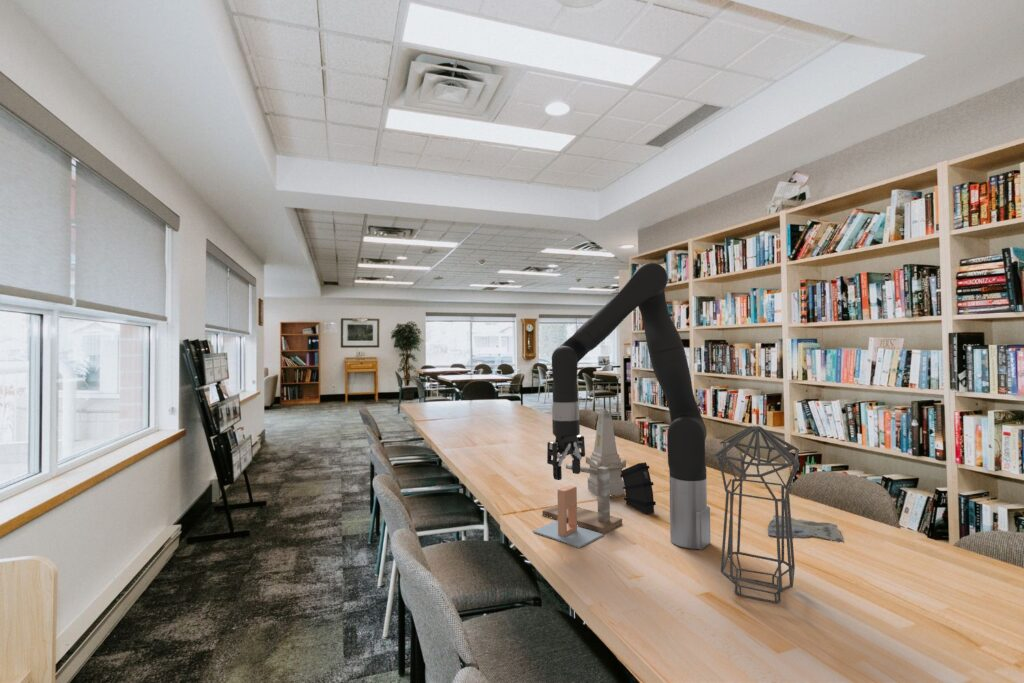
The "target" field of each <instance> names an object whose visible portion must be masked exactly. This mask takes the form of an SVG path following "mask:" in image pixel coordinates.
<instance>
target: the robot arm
mask: <svg viewBox="0 0 1024 683" xmlns="http://www.w3.org/2000/svg"><path fill="white" fill-rule="evenodd" d="M668 277H669V276H668V273H667V271H666V269H665V268H664V267H663V266H662V265H661V264H659V263H656V262H646V263H643V264H642V265H639V267H637V269H636V270H635V272H634V273H633V274H632V276H631V277H630V278H629V279H628V281H627V282H626V284H625V285H624V286H623V287H622V288H621V289H620V290H619V292H618V293H616V294H615V295H614V296H613V298H611V299H610V300H609V301H607V303H606V304H605V305H604V306H602V307H601V308H600V309H599V310H597V311H596V312H595V313H594V314H593V315H592V316H590V318H589V319H587V320H586V321H585V322H584V323H582V325H580V327H579V328H578V329H577V330H576V331H575V332H574V333H573V335H571V336H570V337H569V338H568V339H566V340H565V341H564V342H563V343H562V344H560V345H559V346H558V347H557V348H555V350H554V351H553V352H552V355H551V370H552V372H551V373H552V380H553V381H552V382H553V383H552V405H551V406H552V407H551V408H552V409H551V420H552V422H551V423H552V435H553V436H555V440H554V441H547V444H546V445H547V449H546V451H547V452H546V454H547V457H546V458H547V459H546V463H547V465H552V476H553V480H556V481H561V480H562V477H563V476H562V475H563V474H562V464H563V460H565V459H566V458H567V456H569V455H570V457H571V458H572V460H571V464H572V470H571V471H572V474H575V475H580V474H581V472H580V466H581V460H582V458H586V448H585V447H586V446H585V437H584V435H580V434H581V432H580V431H581V430H580V429H581V428H580V427H581V426H580V423H581V422H580V406H579V389H578V388H579V387H578V383H577V382H578V363H579V362H580V361H581V360H582V359H583V358H584V357H585V356H586V355H587V354H588V353H589V352H591V351H593V350H594V349H595V348H597V347H598V346H599V345H600V344H601V343H603V341H605V339H607V338H608V337H609V336H610V335H611V334H612V333H613V332H614V330H616V329H617V328H618V327H619V325H620V324H621V323H622V322H623V321H624V320H625V319H626V318H627V317H628V316H629V315H630V314H631V313H633V311H634V310H636V309H637V308H638V309H639V312H640V316H641V319H642V323H643V328H644V329H643V330H644V335H645V341H646V345H647V352H648V355H649V358H650V363H651V365H652V366H651V367H652V369H653V373H654V375H655V378H656V380H657V382H658V385H659V386H660V388H661V391H662V392H663V394H664V396H665V399H666V402H667V407H668V413H669V419H670V424H669V426H668V428H667V434H666V436H667V437H666V438H667V439H666V443H667V465H668V466H667V467H668V468H669V517H670V518H669V521H670V522H669V527H670V528H669V530H670V531H669V532H670V533H669V534H670V535H669V536H670V542H671V543H673V544H674V545H676V546H678V547H681V548H685V549H690V550H691V549H695V550H701V551H702V550H703V549H705V548H706V547H707V546H709V545H710V544H711V543H712V542H711V508H710V506H709V505H708V501H707V500H708V494H707V492H708V491H707V490H708V489H707V488H708V487H707V484H708V483H707V465H706V438H707V432H708V431H707V426H706V423H705V421H704V420H703V416H702V415H701V412H700V409H699V407H698V403H697V401H696V398H695V394H694V390H693V384H692V377H691V371H690V367H689V362H688V358H687V354H686V352H685V351H686V350H685V348H684V347H685V346H684V344H683V343H684V342H683V341H682V338H681V336H680V333H679V331H678V330H677V327H676V326H675V323H674V322H673V320H672V318H671V316H670V312H669V308H668V304H667V299H666V294H665V293H666V292H665V289H666V286H667V284H668V280H669V279H668Z"/></svg>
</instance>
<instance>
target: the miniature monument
mask: <svg viewBox="0 0 1024 683" xmlns="http://www.w3.org/2000/svg"><path fill="white" fill-rule="evenodd" d="M616 444H617V443H616V437H615V432H614V424H613V419H612V414H611V413H610V412H609V411H608V410H607V409H606V408H605V407H604V408H603V410H601V411H600V412H599V413H598V418H597V425H596V432H595V440H594V447H593V451H592V452H591V455H589V456H590V457H589V456H587V455H585V464H586V465H588V466H589V468H593V469H597V468H598V467H602V466H603V467H608V468H609V481H610V495H615V496H622V495H621V494H624V495H626V493H625V489H623V487H625V486H624V481H623V477H621V476H620V475H621V474H622V473H621V471H622V470H624V468H625V469H626V468H627V460H626V459H624V460H622V459H621V457H620V454H619V453H618V450H617V445H616ZM588 489H589V490H590V491H589V490H588ZM587 490H588V491H589V492H591V491H592V492H591V493H593V494H594V493H595V495H596V494H597V495H598V493H597V475H595V474H590V473H589V476H588V477H587ZM597 495H596V496H597Z"/></svg>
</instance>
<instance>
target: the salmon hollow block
mask: <svg viewBox="0 0 1024 683" xmlns="http://www.w3.org/2000/svg"><path fill="white" fill-rule="evenodd" d="M577 495H578V492H577V486H574V485H570V484H569V485H567V486H564V487H561V488H559V489H557V505H558V534H559V535H562V536H567V535H569V534H571V533H573V532H575V531H577V507H578V502H577V501H578V496H577ZM566 509H568V525H567V510H566Z"/></svg>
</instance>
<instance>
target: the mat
mask: <svg viewBox="0 0 1024 683" xmlns="http://www.w3.org/2000/svg"><path fill="white" fill-rule="evenodd" d="M567 525H568V523H567ZM533 532H534V534H536V533H537V535H539V534H540V535H539V536H542V535H543V536H542V537H545V536H546V537H545V538H548V537H549V538H548V539H551V538H552V540H554V539H555V540H554V541H557V540H558V541H557V542H560V541H561V542H560V543H563V542H564V543H563V544H566V543H567V544H566V545H569V544H570V545H569V546H572V545H573V546H572V547H575V546H576V547H575V548H577V547H579V548H578V549H581V548H583V547H584V545H585V546H586V544H587V545H589V544H591V543H593V542H595V541H596V539H597V540H598V538H599V539H601V538H602V537H604V533H600V532H596V531H593V530H590V529H586V528H583V527H580V526H577V531H575V532H573V533H571V534H569V535H567V536H562V535H559V534H558V520H556V521H555V520H554V521H553V522H550V523H548V524H545V525H543V526H540V527H539V528H536V529H534V530H532V533H533ZM600 537H601V538H600ZM594 540H595V541H594ZM592 541H593V542H592ZM590 542H591V543H590ZM588 543H589V544H588ZM582 546H583V547H582ZM580 547H581V548H580Z"/></svg>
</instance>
